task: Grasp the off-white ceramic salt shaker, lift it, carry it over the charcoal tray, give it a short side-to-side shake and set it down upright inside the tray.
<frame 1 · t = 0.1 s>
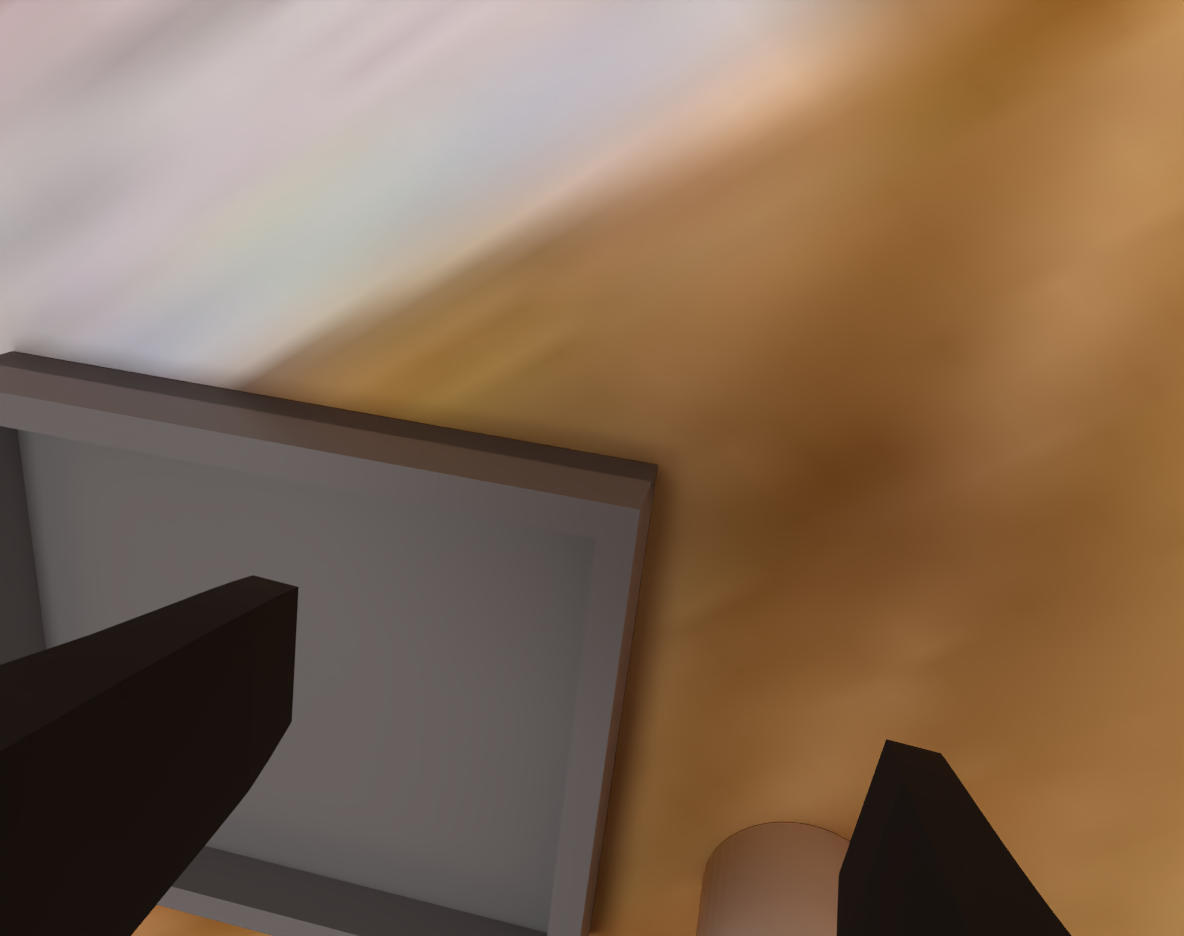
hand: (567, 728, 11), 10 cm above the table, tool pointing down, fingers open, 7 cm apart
salt shaker: (792, 895, 24), on the table
tray: (317, 660, 24), on the table
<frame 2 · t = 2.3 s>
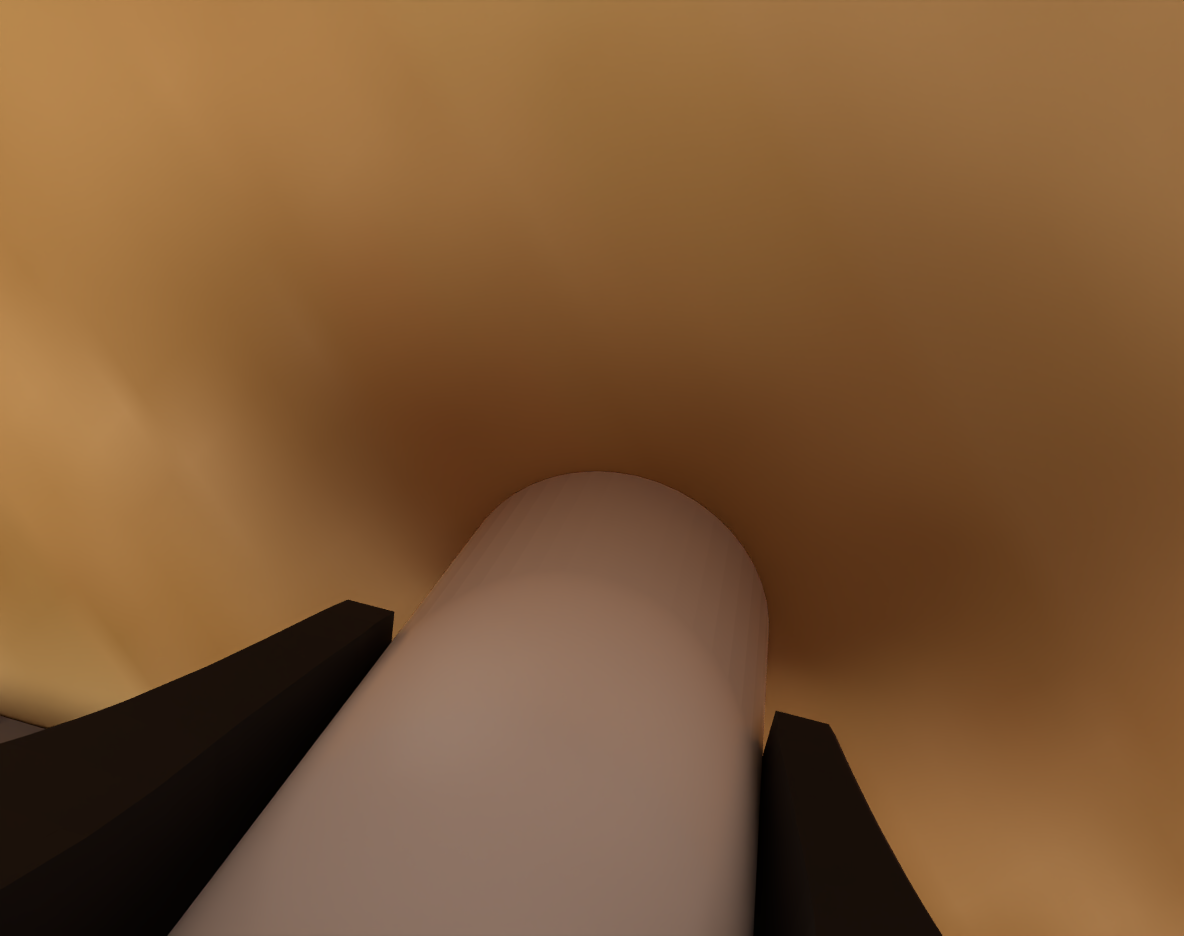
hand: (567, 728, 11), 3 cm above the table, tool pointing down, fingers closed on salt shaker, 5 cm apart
salt shaker: (607, 619, 14), on the table, touching gripper
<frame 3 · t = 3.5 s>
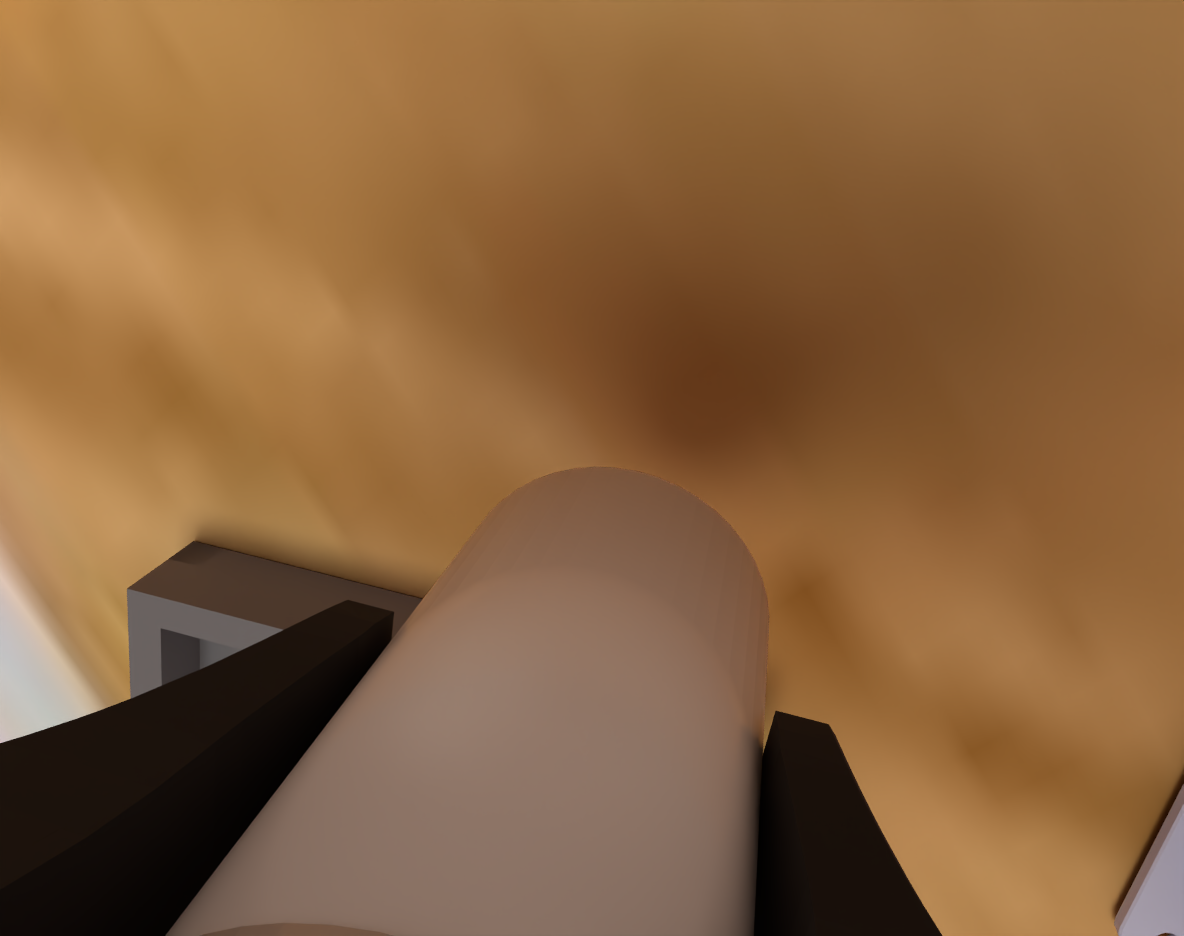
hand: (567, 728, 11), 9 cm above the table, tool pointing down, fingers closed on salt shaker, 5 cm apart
salt shaker: (609, 614, 14), point 7 cm above the table, touching gripper
tray: (432, 863, 25), on the table
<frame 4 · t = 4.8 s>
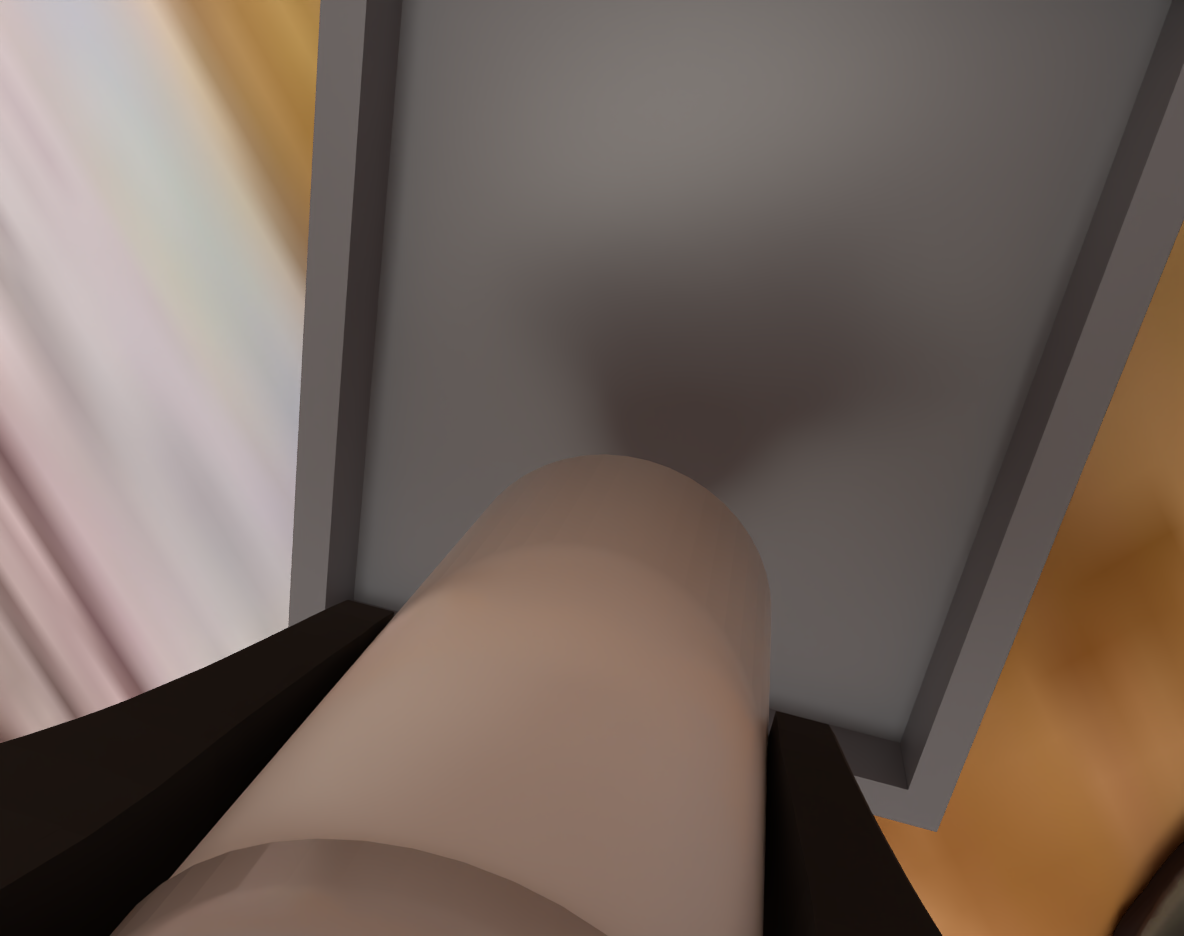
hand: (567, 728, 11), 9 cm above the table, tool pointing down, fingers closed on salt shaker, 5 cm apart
salt shaker: (611, 604, 14), point 7 cm above the table, touching gripper
tray: (689, 344, 19), on the table
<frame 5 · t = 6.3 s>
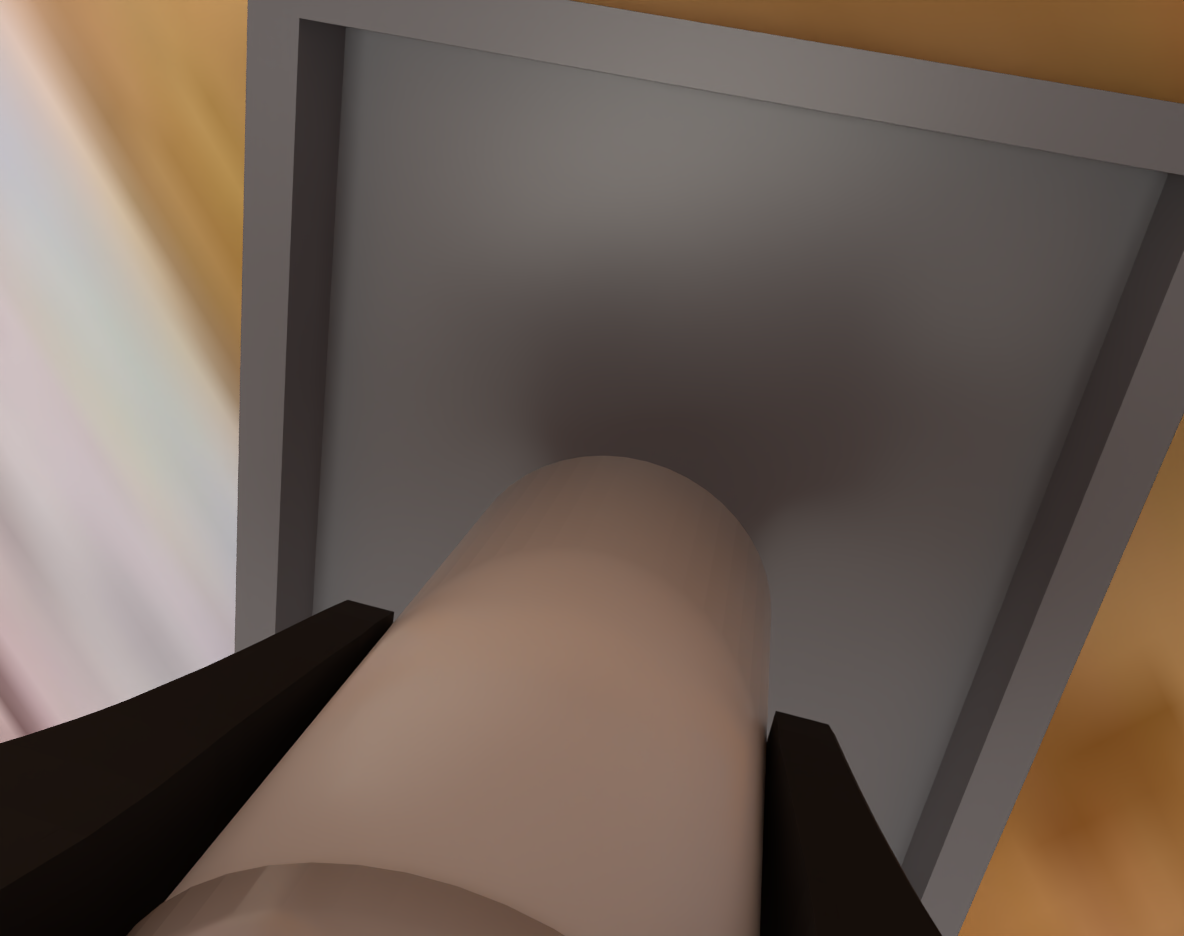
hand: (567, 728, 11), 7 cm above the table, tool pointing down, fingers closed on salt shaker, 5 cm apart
salt shaker: (611, 604, 14), point 4 cm above the table, touching gripper
tray: (653, 503, 18), on the table
when the fingers open (5 cm above the table, at t = 7.5 s): salt shaker drops 1 cm, resting on tray.
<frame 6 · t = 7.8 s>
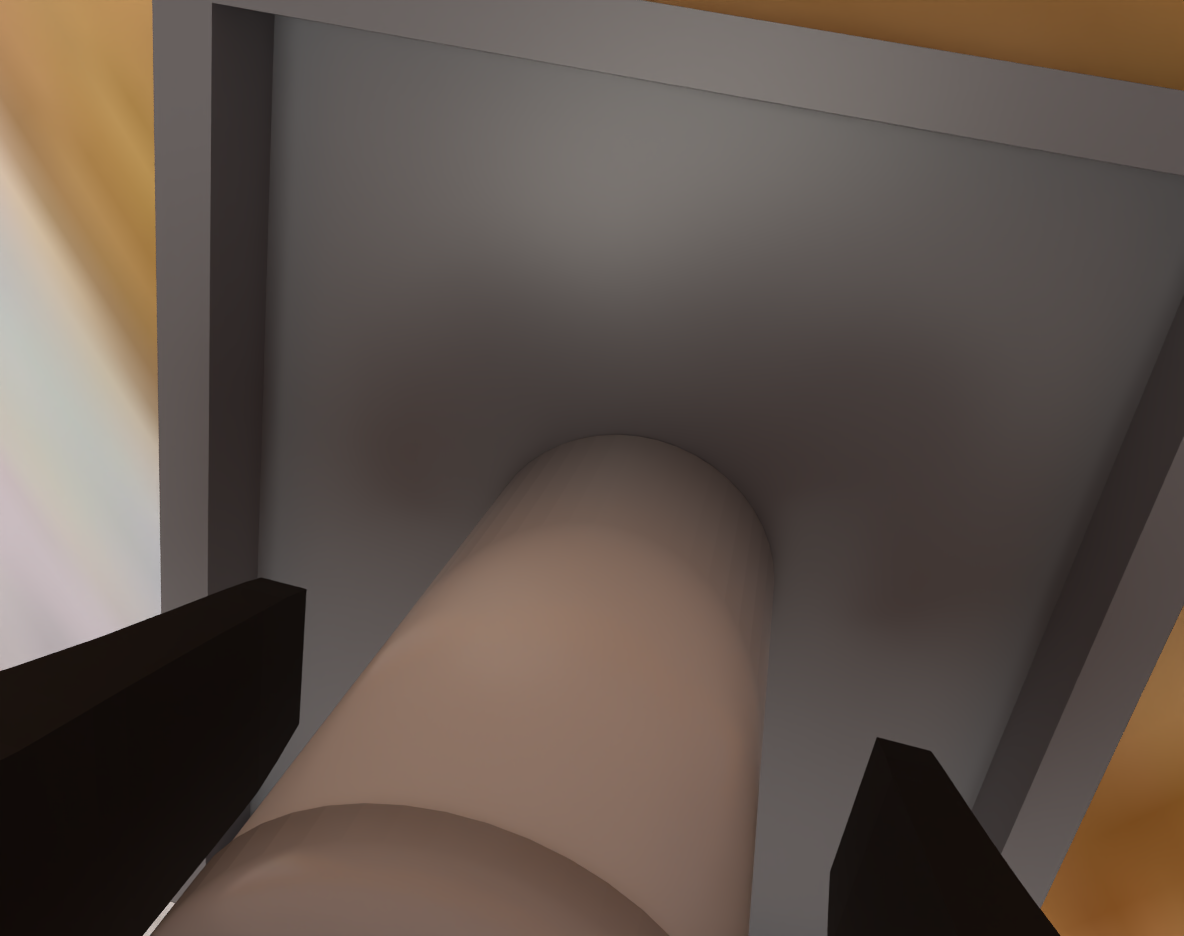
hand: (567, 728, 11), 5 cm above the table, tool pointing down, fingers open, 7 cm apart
salt shaker: (624, 573, 15), point 1 cm above the table, touching tray
tray: (632, 551, 16), on the table
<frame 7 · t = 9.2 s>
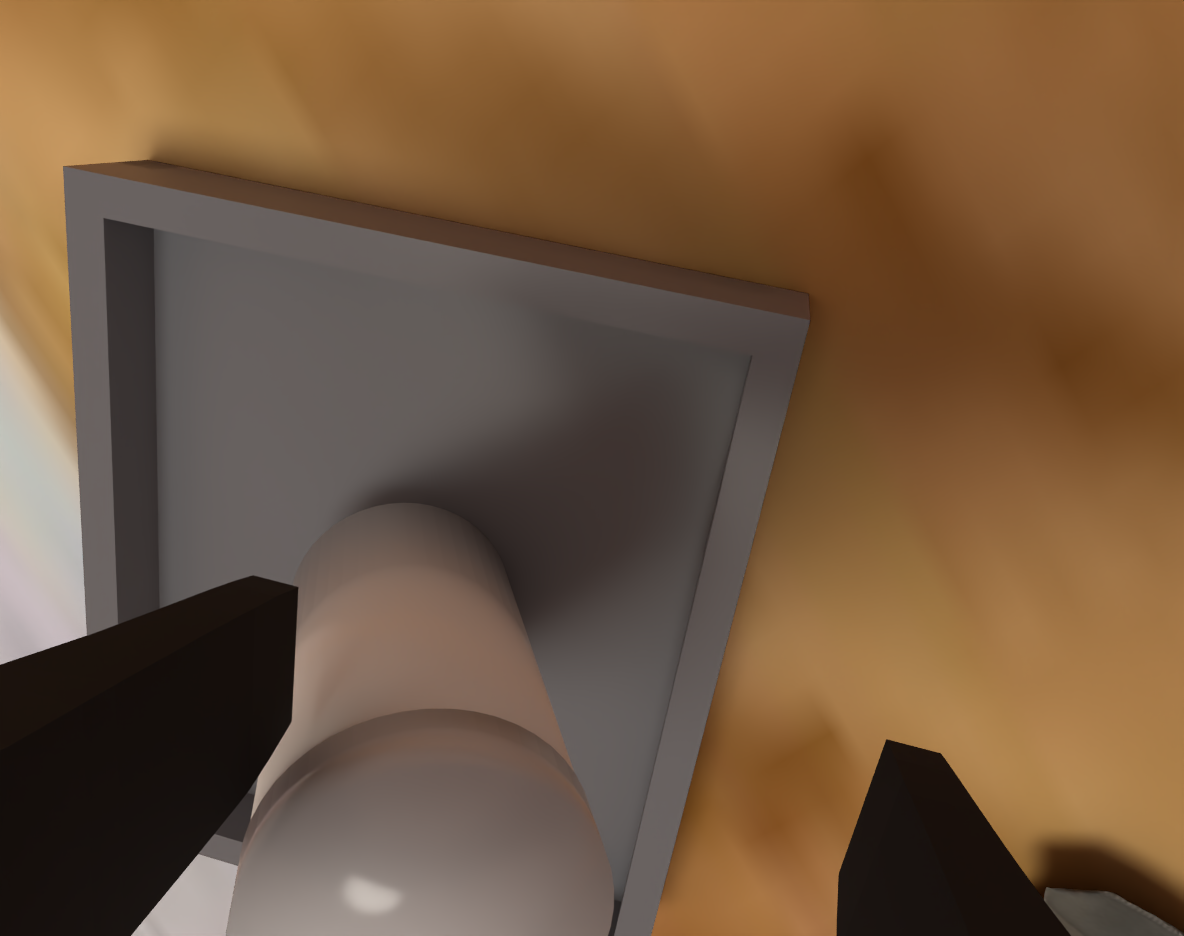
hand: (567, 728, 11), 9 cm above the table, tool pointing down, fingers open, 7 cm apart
salt shaker: (402, 604, 20), point 2 cm above the table, tilted 25°, touching tray
tray: (425, 568, 22), on the table
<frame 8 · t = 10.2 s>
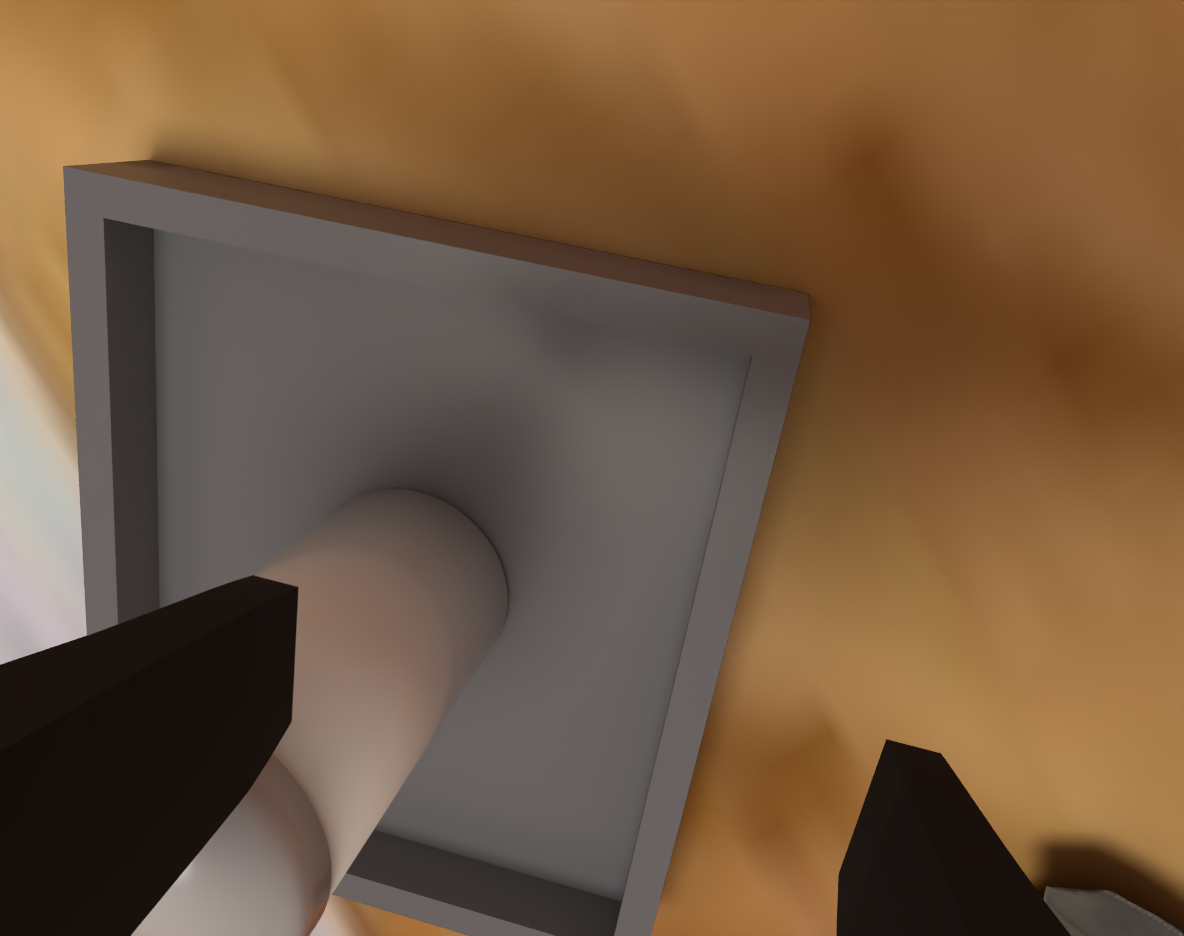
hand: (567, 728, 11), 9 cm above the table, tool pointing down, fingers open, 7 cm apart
salt shaker: (409, 584, 21), point 1 cm above the table, touching tray
tray: (425, 568, 22), on the table
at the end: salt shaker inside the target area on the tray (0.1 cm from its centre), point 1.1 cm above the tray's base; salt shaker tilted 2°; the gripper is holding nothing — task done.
